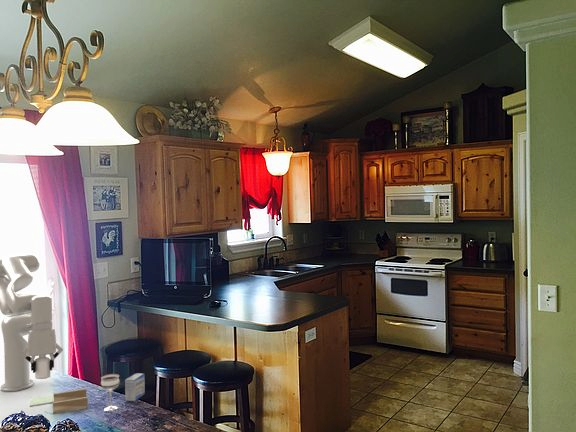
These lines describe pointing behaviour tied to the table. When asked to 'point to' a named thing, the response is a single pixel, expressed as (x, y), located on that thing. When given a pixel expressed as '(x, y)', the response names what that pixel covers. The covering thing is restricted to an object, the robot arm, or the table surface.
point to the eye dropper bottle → (42, 367)
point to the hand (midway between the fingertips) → (42, 370)
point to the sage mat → (42, 400)
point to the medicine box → (134, 387)
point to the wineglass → (110, 387)
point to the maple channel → (70, 401)
